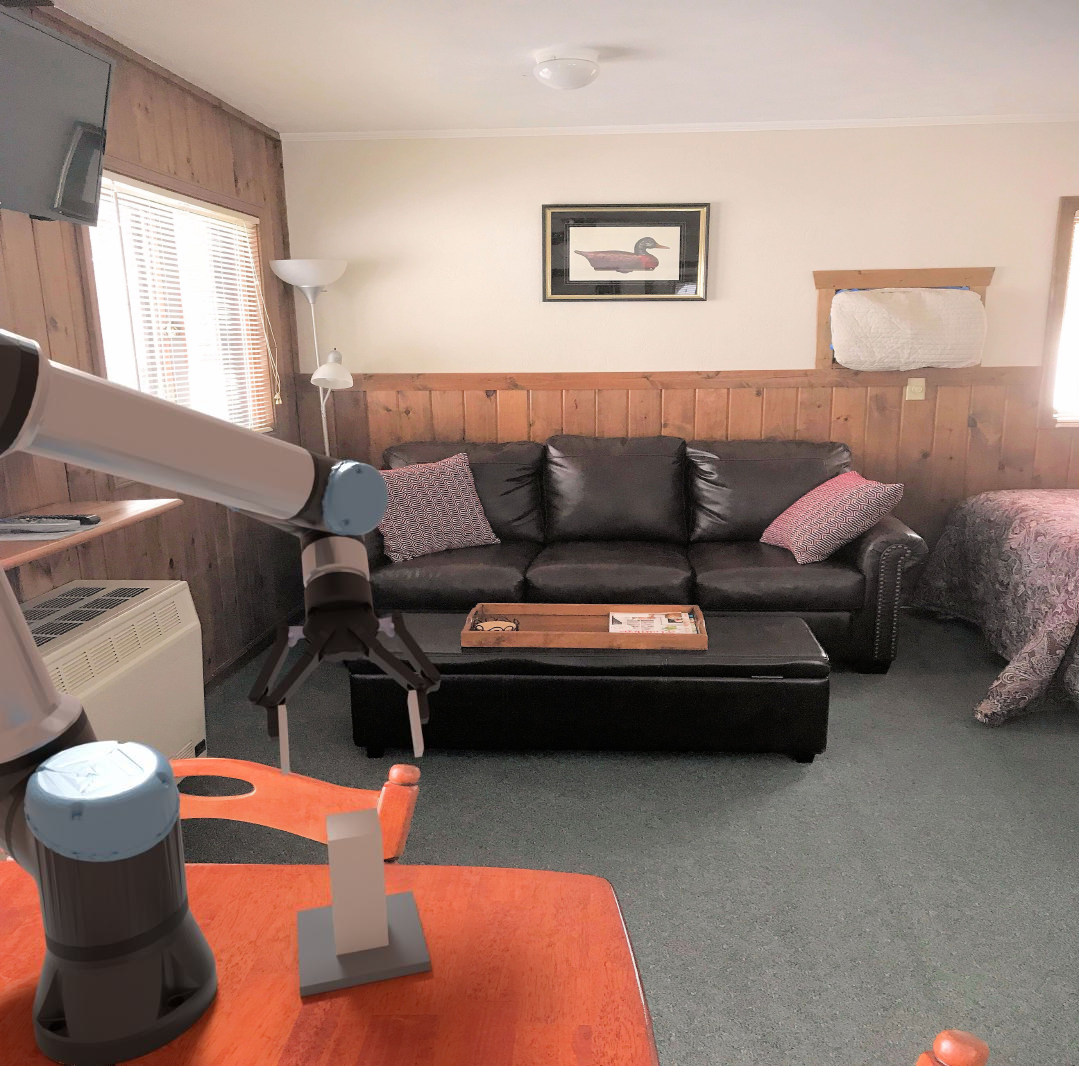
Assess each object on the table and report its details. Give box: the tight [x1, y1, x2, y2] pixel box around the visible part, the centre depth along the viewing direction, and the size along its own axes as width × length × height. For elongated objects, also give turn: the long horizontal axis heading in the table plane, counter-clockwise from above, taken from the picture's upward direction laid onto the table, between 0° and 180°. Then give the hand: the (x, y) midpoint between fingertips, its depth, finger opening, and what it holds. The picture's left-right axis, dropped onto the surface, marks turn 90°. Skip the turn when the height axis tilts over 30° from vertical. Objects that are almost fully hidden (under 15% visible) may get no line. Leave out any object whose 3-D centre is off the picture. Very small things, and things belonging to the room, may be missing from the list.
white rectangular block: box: [325, 807, 389, 955], centre depth 88 cm, size 5×5×12 cm
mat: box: [296, 890, 432, 998], centre depth 89 cm, size 12×12×1 cm
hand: (353, 761), depth 92 cm, fingers open, 13 cm apart
